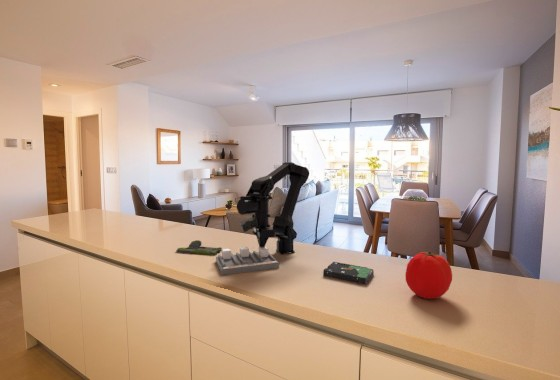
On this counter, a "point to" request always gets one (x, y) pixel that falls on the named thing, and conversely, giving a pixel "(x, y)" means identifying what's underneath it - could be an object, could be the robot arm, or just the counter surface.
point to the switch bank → (246, 263)
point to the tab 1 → (226, 253)
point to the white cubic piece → (263, 252)
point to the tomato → (428, 275)
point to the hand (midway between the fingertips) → (261, 249)
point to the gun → (199, 249)
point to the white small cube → (244, 251)
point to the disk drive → (349, 273)
